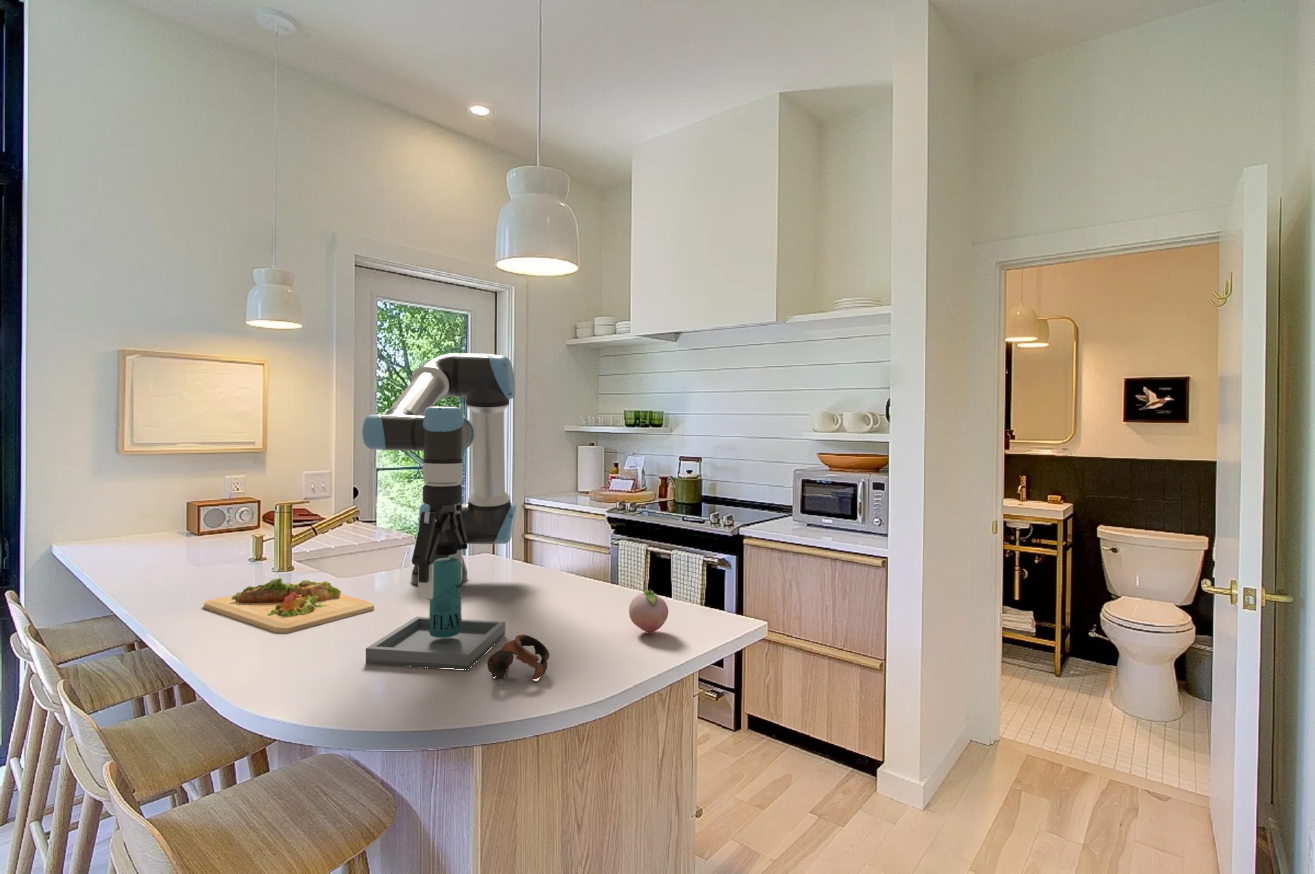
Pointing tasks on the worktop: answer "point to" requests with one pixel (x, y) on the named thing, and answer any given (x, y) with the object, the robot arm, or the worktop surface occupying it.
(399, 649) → the tray
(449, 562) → the beverage bottle
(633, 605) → the decorative fruit
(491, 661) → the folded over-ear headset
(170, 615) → the worktop surface
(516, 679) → the worktop surface
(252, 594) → the cutting board
